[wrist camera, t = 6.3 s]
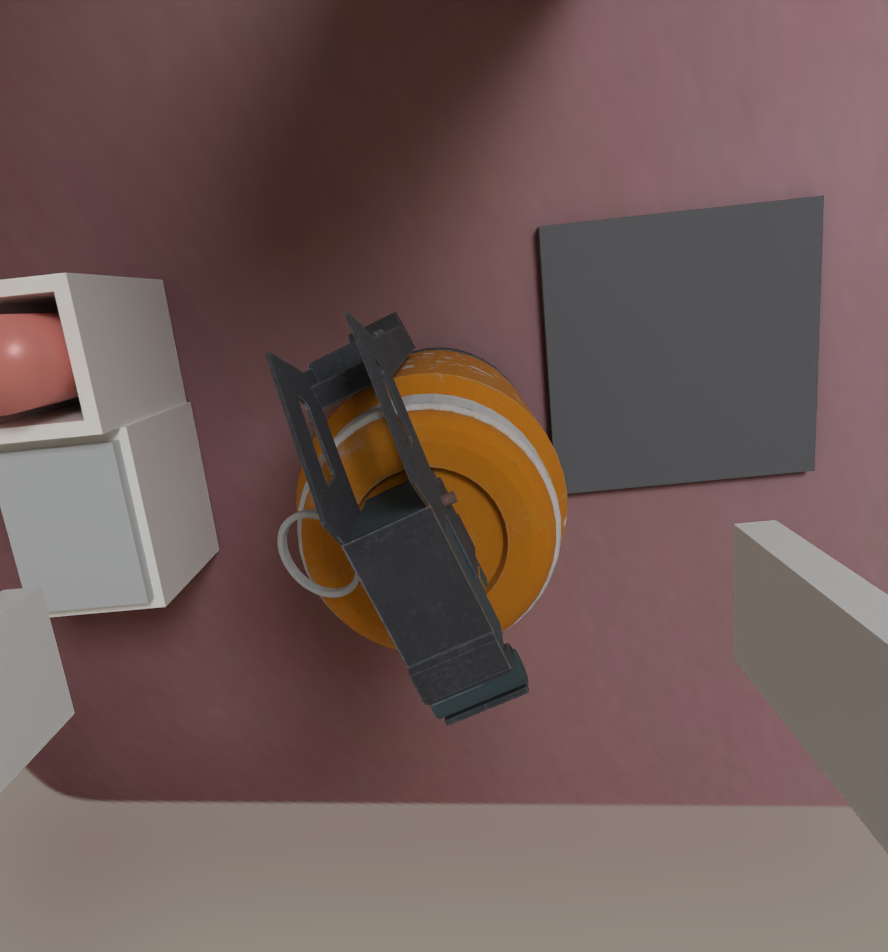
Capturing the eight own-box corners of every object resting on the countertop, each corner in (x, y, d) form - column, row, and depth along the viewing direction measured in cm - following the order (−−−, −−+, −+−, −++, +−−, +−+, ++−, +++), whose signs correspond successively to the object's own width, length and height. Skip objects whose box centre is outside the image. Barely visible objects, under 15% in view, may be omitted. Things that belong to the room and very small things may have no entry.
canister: (399, 546, 36) (337, 827, 17) (300, 356, 34) (96, 430, 14) (555, 476, 35) (679, 691, 16) (464, 275, 33) (479, 238, 13)
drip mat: (537, 227, 32) (539, 226, 32) (817, 197, 32) (824, 195, 31) (554, 491, 35) (555, 494, 35) (808, 467, 35) (814, 470, 34)
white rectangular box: (46, 292, 33) (-88, 289, 25) (166, 279, 33) (71, 272, 25) (109, 560, 37) (10, 635, 28) (219, 549, 36) (150, 622, 28)
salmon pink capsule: (55, 315, 32) (-73, 320, 24) (131, 307, 32) (26, 309, 24) (73, 392, 33) (-45, 420, 25) (147, 384, 33) (51, 411, 25)
